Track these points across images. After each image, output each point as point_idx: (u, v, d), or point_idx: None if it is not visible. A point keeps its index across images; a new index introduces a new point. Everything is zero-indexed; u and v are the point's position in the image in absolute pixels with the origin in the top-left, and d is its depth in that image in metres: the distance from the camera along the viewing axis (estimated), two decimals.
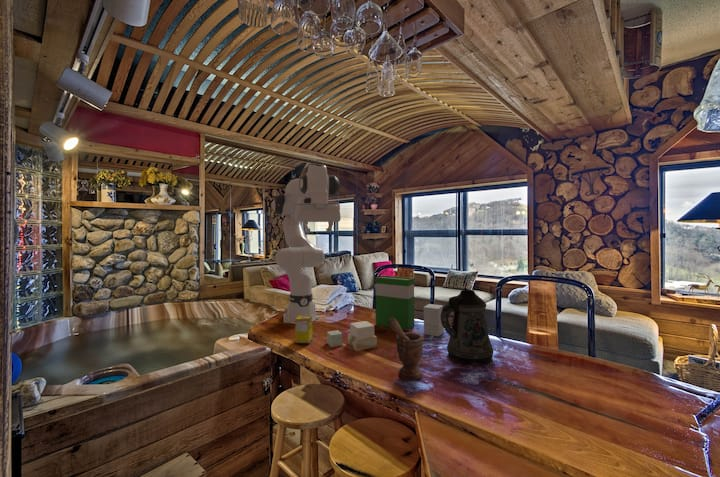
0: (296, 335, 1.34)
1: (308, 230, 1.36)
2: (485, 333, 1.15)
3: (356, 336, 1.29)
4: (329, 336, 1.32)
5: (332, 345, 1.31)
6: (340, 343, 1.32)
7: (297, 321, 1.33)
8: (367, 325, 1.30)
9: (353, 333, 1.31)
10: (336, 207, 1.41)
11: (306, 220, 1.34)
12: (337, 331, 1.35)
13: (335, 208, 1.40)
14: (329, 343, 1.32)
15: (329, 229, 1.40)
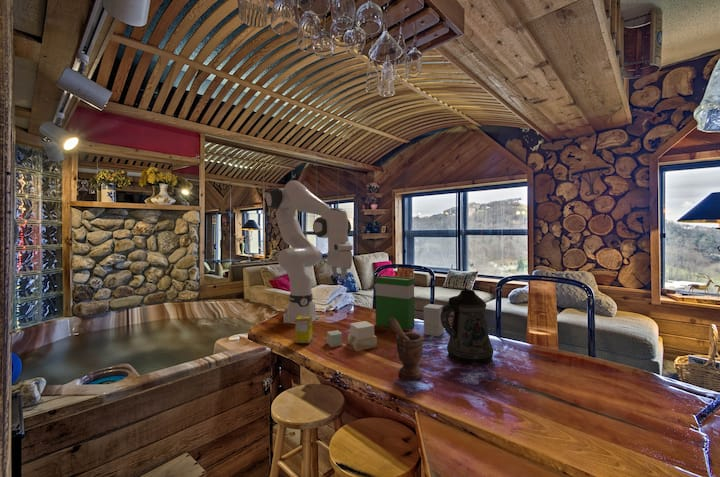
0: (296, 335, 1.34)
1: None
2: (485, 333, 1.15)
3: (356, 336, 1.28)
4: (329, 336, 1.31)
5: (332, 345, 1.31)
6: (340, 343, 1.32)
7: (297, 321, 1.33)
8: (367, 326, 1.30)
9: (353, 334, 1.31)
10: None
11: None
12: (337, 331, 1.35)
13: None
14: (329, 343, 1.32)
15: None
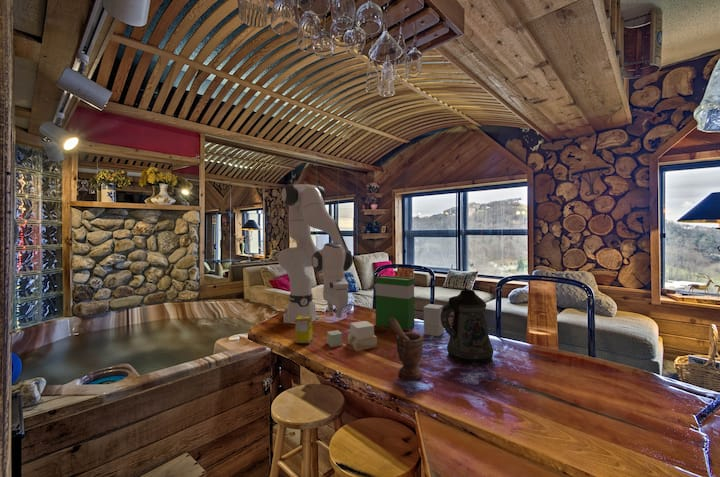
0: (296, 335, 1.34)
1: None
2: (485, 333, 1.15)
3: (356, 336, 1.29)
4: (329, 336, 1.32)
5: (332, 345, 1.31)
6: (340, 343, 1.32)
7: (297, 321, 1.33)
8: (367, 325, 1.30)
9: (353, 333, 1.31)
10: None
11: None
12: (337, 331, 1.35)
13: None
14: (329, 343, 1.32)
15: None
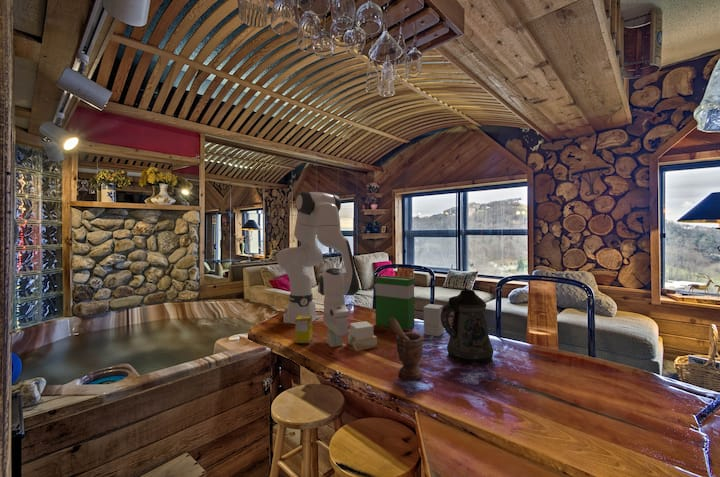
0: (296, 335, 1.34)
1: None
2: (485, 333, 1.15)
3: (355, 336, 1.29)
4: (329, 335, 1.31)
5: (332, 345, 1.31)
6: (340, 343, 1.32)
7: (297, 321, 1.33)
8: (367, 326, 1.30)
9: (352, 334, 1.31)
10: None
11: None
12: None
13: None
14: (329, 343, 1.32)
15: None
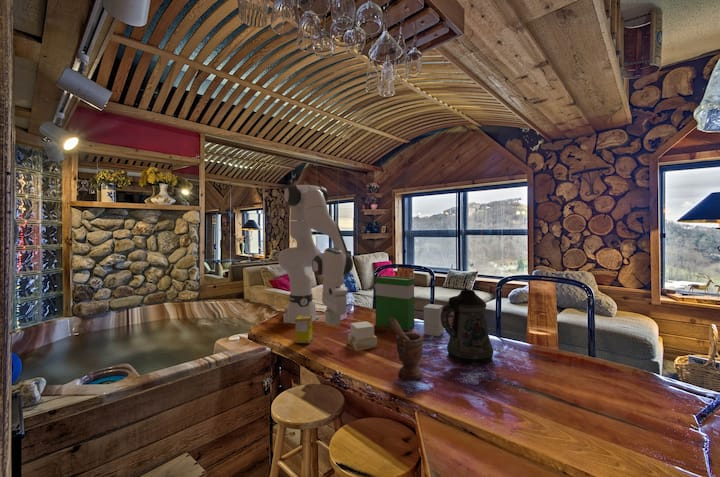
0: (296, 335, 1.34)
1: None
2: (485, 333, 1.15)
3: (355, 336, 1.28)
4: (328, 314, 1.32)
5: (330, 324, 1.31)
6: (338, 322, 1.32)
7: (297, 321, 1.33)
8: (367, 326, 1.30)
9: (353, 334, 1.31)
10: None
11: None
12: None
13: None
14: (327, 322, 1.32)
15: None
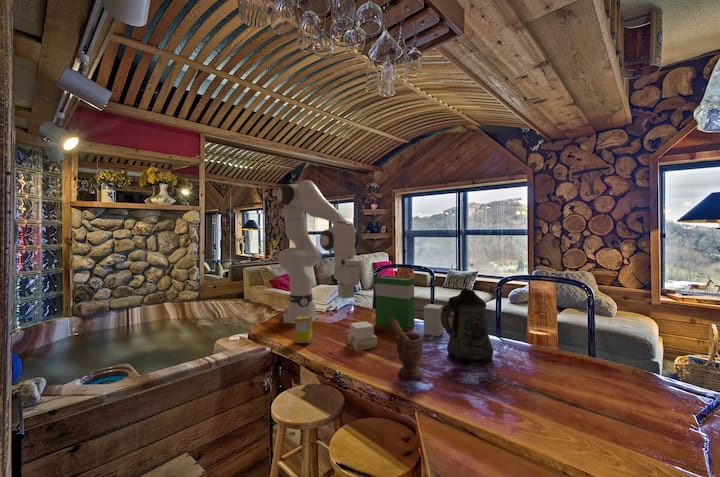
0: (296, 335, 1.34)
1: None
2: (485, 333, 1.15)
3: (355, 336, 1.28)
4: (341, 287, 1.30)
5: (343, 296, 1.29)
6: (351, 295, 1.30)
7: (297, 321, 1.33)
8: (367, 326, 1.30)
9: (353, 334, 1.31)
10: None
11: None
12: None
13: None
14: (340, 295, 1.30)
15: None
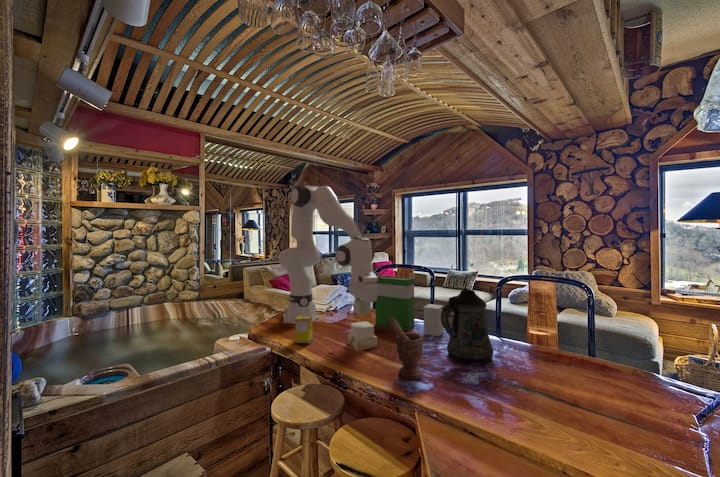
0: (296, 335, 1.34)
1: None
2: (485, 333, 1.15)
3: (355, 336, 1.28)
4: (357, 303, 1.30)
5: (360, 313, 1.29)
6: (368, 311, 1.30)
7: (297, 321, 1.33)
8: (367, 326, 1.30)
9: (353, 334, 1.31)
10: None
11: None
12: None
13: None
14: (357, 311, 1.30)
15: None
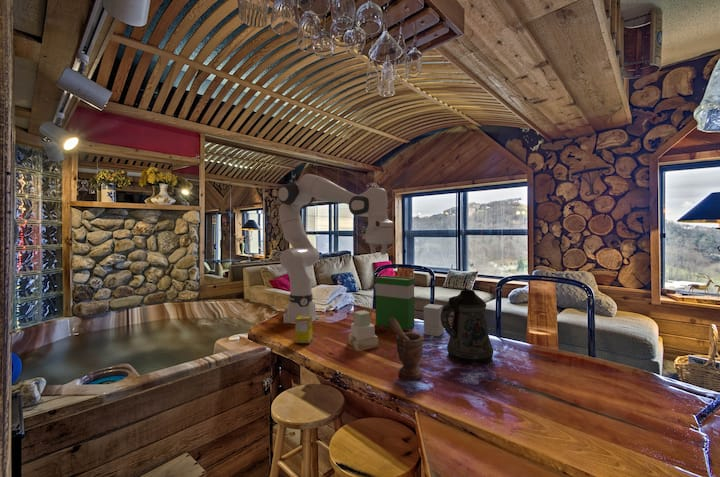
0: (296, 335, 1.34)
1: None
2: (485, 333, 1.15)
3: (356, 336, 1.28)
4: (358, 315, 1.30)
5: (361, 325, 1.29)
6: (368, 322, 1.31)
7: (297, 321, 1.33)
8: (368, 326, 1.30)
9: (354, 334, 1.31)
10: None
11: None
12: (364, 311, 1.34)
13: None
14: (357, 323, 1.30)
15: None
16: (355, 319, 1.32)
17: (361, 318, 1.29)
